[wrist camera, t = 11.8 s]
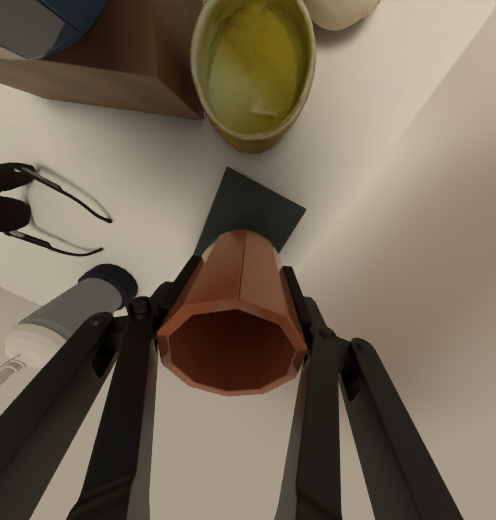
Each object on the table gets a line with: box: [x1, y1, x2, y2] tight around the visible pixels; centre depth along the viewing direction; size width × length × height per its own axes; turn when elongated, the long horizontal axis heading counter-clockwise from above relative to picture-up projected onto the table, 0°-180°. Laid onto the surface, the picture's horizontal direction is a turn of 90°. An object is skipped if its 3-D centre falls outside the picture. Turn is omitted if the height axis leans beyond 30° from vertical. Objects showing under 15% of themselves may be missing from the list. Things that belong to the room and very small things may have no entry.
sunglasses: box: [0, 162, 112, 256], centre depth 24 cm, size 10×12×5 cm
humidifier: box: [0, 264, 138, 385], centre depth 21 cm, size 8×8×25 cm
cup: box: [157, 230, 307, 396], centre depth 14 cm, size 8×8×10 cm
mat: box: [194, 167, 306, 257], centre depth 26 cm, size 14×12×1 cm
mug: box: [190, 0, 316, 154], centre depth 16 cm, size 12×10×10 cm
